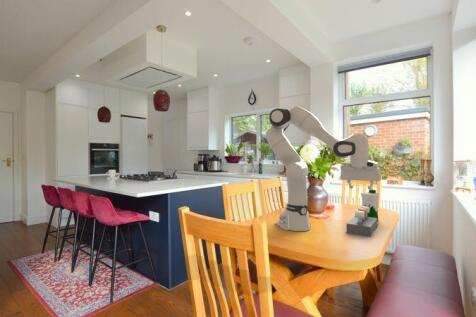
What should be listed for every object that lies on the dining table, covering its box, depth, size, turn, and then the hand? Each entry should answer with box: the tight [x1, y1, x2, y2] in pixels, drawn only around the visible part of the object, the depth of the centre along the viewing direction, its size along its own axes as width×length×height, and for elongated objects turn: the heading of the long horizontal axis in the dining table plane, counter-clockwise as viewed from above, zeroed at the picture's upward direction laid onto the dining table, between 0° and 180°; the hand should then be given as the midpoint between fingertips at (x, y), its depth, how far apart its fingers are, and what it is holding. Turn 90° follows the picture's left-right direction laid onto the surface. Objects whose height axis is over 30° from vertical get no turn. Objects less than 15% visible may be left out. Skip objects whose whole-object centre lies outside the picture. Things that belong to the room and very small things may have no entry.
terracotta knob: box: [357, 207, 367, 221], centre depth 146 cm, size 5×5×7 cm
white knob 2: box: [360, 206, 369, 219], centre depth 152 cm, size 5×5×7 cm
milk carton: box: [360, 189, 380, 222], centre depth 167 cm, size 9×9×20 cm
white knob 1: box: [354, 210, 364, 224], centre depth 139 cm, size 5×5×7 cm
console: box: [345, 216, 378, 237], centre depth 146 cm, size 24×12×5 cm, turn 144°
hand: (360, 188), depth 137 cm, fingers open, 8 cm apart
